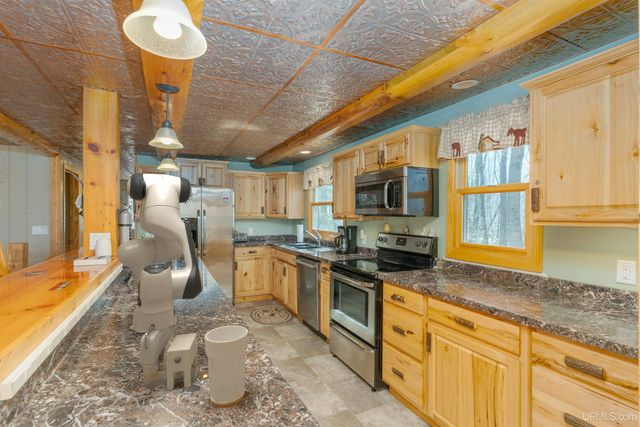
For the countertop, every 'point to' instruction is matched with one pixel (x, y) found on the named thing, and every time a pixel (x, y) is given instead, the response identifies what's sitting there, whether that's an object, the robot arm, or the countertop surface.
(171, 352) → the notched cream block
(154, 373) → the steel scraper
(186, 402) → the countertop surface
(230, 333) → the cup
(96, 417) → the countertop surface
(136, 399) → the countertop surface
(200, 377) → the brass token
